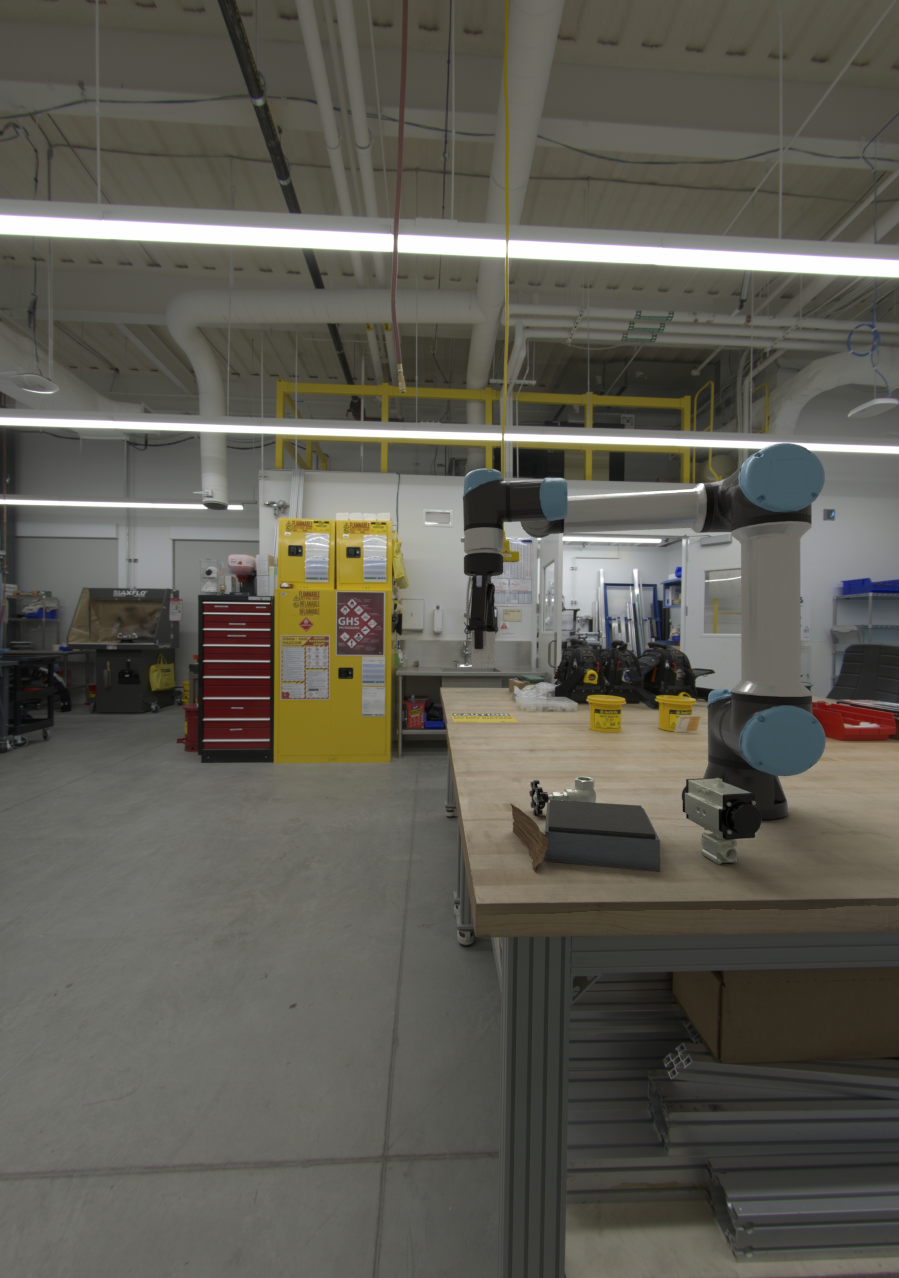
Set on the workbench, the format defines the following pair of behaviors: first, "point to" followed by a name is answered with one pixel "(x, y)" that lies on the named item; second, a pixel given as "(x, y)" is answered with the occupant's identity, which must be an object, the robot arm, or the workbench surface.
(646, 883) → the workbench surface
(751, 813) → the pneumatic valve
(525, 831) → the wood plank
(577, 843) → the stand
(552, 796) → the valve
